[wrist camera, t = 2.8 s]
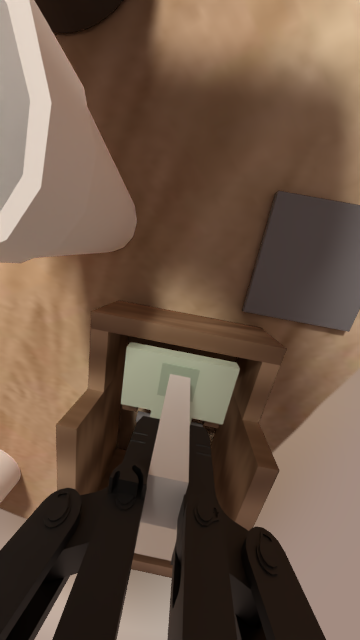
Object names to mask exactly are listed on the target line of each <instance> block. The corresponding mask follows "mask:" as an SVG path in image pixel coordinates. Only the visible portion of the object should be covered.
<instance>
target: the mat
mask: <svg viewBox="0 0 360 640" xmlns="http://www.w3.org/2000/svg"><path fill="white" fill-rule="evenodd" d="M359 309H360V205H355V204H350V203H344V202H339V201H333V200H327V199H322V198H316V197H311V196H305V195H299V194H294V193H288V192H283V191H278V192H277V193H276V194H275V197H274V201H273V204H272V208H271V211H270V215H269V218H268V222H267V225H266V229H265V232H264V236H263V239H262V243H261V246H260V250H259V253H258V257H257V260H256V264H255V267H254V271H253V274H252V278H251V281H250V285H249V288H248V292H247V295H246V299H245V302H244V306H243V309H242V311H244V312H249V313H254V314H259V315H264V316H270V317H275V318H280V319H285V320H291V321H296V322H301V323H306V324H311V325H317V326H322V327H327V328H332V329H338V330H343V331H348V332H349V331H350V328H351V326H352V324H353V322H354V320H355V318H356V316H357V314H358V312H359Z"/></svg>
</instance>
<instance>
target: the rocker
mask: <svg viewBox="0 0 360 640" xmlns="http://www.w3.org/2000/svg"><path fill="white" fill-rule="evenodd" d="M239 370H240V368H239V366H238V364H237V363H236V362H231V361H226V360H221V359H216V358H211V357H206V356H200V355H195V354H190V353H185V352H180V351H175V350H170V349H165V348H160V347H154V346H149V345H144V344H139V343H134V342H130V344H129V345H128V346H127V349H126V358H125V368H124V377H123V387H122V396H121V404H123V405H128V406H133V407H138V408H143V409H148V410H151V413H146V412H141V411H138V414H137V417H136V422H138V421H139V420H140V419H141V418H142V416H147V417H152V418H157V419H160V418H161V413H162V409H163V404H164V399H165V395H166V390H167V386H168V381H169V376H170V374H173V375H178V376H183V377H189V378H190V425H194V426H199V427H203V425H202V424H200V423H195V422H191V420H192V418H193V419H198V420H203V421H208V422H213V423H218V424H223V422H224V419H225V415H226V412H227V409H228V406H229V403H230V399H231V396H232V393H233V390H234V386H235V383H236V380H237V377H238V374H239Z"/></svg>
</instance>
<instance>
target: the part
mask: <svg viewBox="0 0 360 640" xmlns="http://www.w3.org/2000/svg"><path fill="white" fill-rule="evenodd" d="M176 537H177V527H176V530H175V529H170V528H166V527H161V526H156V525H151V524H147V523H142V522H140V526H139V531H138V536H137V541H136V546H135V551H134V553H137V554H141V555H146V556H151V557H155V558H160V559H165V560H169V561H171V558H172V554H173V551H174V547H175V544H176Z"/></svg>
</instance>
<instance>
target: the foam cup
mask: <svg viewBox="0 0 360 640" xmlns="http://www.w3.org/2000/svg"><path fill="white" fill-rule="evenodd" d="M136 224H137V218H136V211H135V205H134V203H133V201H132V199H131V196H130V194H129V192H128V190H127V188H126V186H125V184H124V182H123V180H122V178H121V176H120V174H119V172H118V169H117V167H116V165H115V163H114V161H113V159H112V157H111V155H110V153H109V151H108V149H107V147H106V144H105V142H104V140H103V138H102V136H101V134H100V132H99V130H98V128H97V126H96V124H95V122H94V120H93V117H92V115H91V113H90V111H89V109H88V107H87V102H86V96H85V90H84V87H83V85H82V83H81V81H80V80H79V78H78V76H77V74H76V73H75V71H74V69H73V67H72V66H71V64H70V62H69V60H68V58H67V57H66V55H65V53H64V51H63V50H62V48H61V46H60V44H59V42H58V41H57V39H56V37H55V35H54V34H53V32H52V30H51V28H50V26H49V25H48V23H47V21H46V19H45V18H44V16H43V14H42V13H41V11H40V9H39V7H38V6H37V4H36V2H35V1H34V0H0V262H4V263H22V262H25V261H27V260H30V259H32V258H39V257H52V256H65V255H79V254H92V253H106V252H113V251H115V250H118V249H121V248H123V247H125V246H126V244H127V243H128V242H129V241H130V240H131V239H132V237H133V235H134V232H135V228H136Z"/></svg>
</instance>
